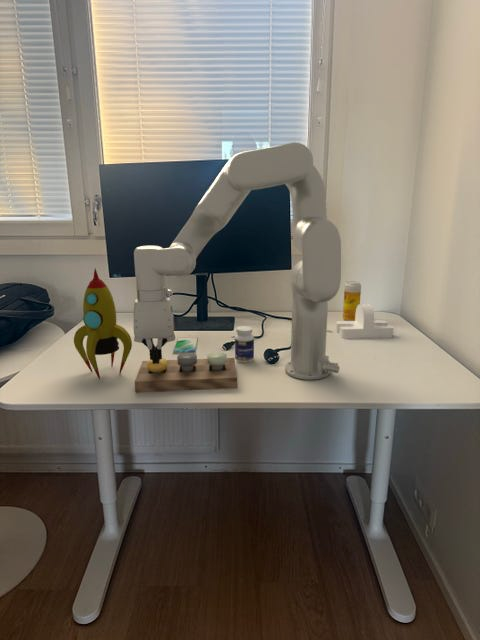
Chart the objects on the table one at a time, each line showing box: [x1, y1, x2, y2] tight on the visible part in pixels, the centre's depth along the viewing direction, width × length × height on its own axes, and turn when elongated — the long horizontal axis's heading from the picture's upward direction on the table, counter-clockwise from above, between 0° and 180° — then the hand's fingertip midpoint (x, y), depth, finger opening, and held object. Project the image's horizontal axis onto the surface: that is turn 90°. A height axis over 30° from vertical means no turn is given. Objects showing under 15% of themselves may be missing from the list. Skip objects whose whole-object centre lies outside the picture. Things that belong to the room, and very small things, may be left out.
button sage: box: [206, 351, 228, 371], centre depth 119 cm, size 5×5×5 cm
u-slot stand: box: [335, 303, 394, 340], centre depth 154 cm, size 10×18×11 cm, turn 92°
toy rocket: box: [73, 268, 133, 380], centre depth 120 cm, size 12×12×30 cm
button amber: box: [147, 358, 168, 373], centre depth 118 cm, size 5×5×5 cm
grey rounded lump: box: [176, 353, 198, 372], centre depth 118 cm, size 5×5×5 cm
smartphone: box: [172, 337, 199, 355], centre depth 145 cm, size 7×1×15 cm
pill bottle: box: [234, 325, 255, 363], centre depth 131 cm, size 6×6×10 cm
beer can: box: [342, 280, 362, 321], centre depth 169 cm, size 6×6×15 cm
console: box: [134, 357, 238, 393], centre depth 119 cm, size 26×14×3 cm, turn 94°
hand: (156, 361), depth 117 cm, fingers closed
